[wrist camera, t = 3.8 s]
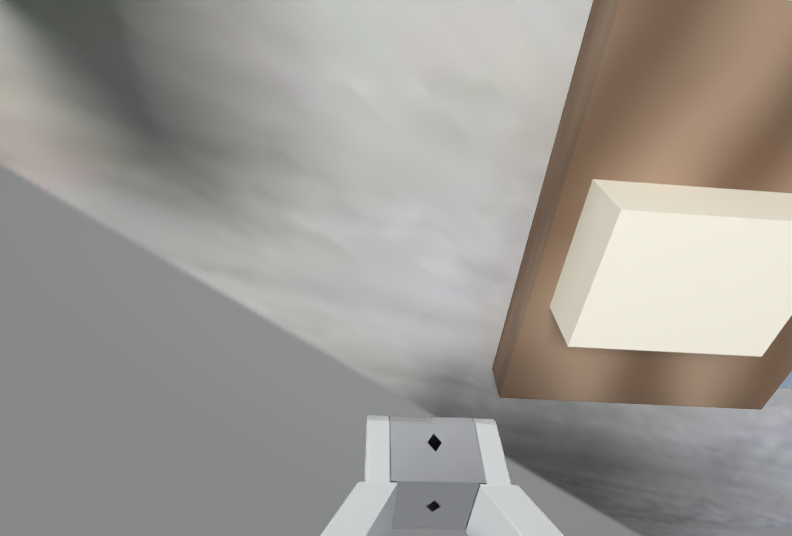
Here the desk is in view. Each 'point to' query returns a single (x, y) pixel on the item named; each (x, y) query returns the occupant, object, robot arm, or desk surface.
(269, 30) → the desk surface
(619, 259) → the tile
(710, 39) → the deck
